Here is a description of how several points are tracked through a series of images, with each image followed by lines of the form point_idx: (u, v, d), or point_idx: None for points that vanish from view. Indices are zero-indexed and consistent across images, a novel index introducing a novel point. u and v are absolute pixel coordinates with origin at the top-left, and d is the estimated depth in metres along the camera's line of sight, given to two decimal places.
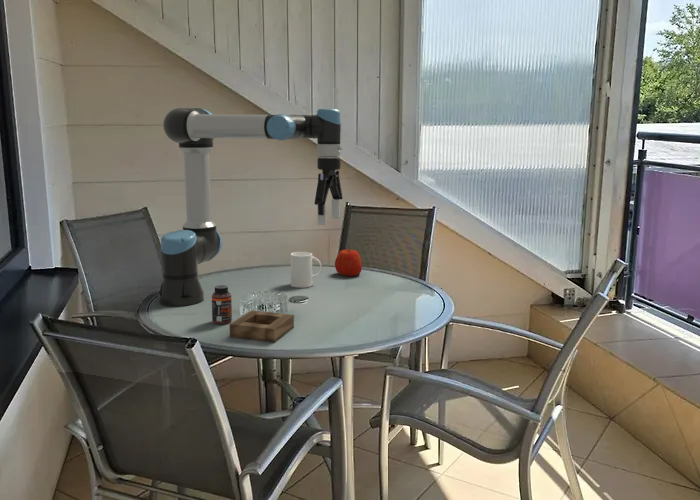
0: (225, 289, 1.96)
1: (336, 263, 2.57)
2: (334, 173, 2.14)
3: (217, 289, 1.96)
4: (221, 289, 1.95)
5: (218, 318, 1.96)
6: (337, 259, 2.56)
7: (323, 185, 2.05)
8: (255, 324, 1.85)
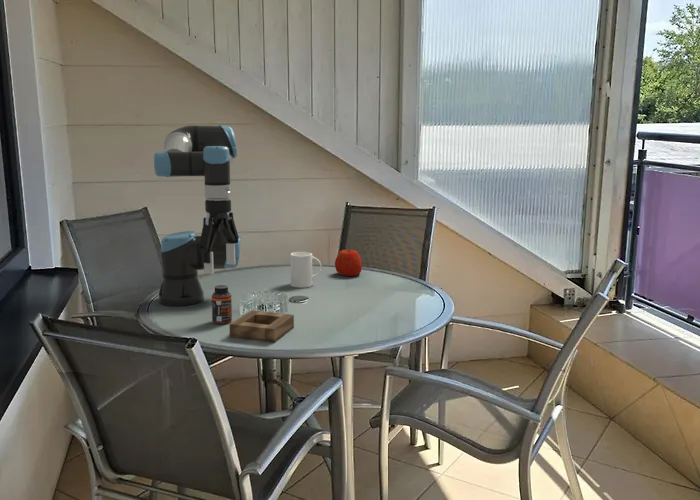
0: (225, 289, 1.96)
1: (336, 263, 2.57)
2: (225, 216, 1.95)
3: (217, 289, 1.96)
4: (221, 289, 1.95)
5: (218, 318, 1.96)
6: (337, 259, 2.56)
7: (208, 231, 1.86)
8: (255, 324, 1.85)
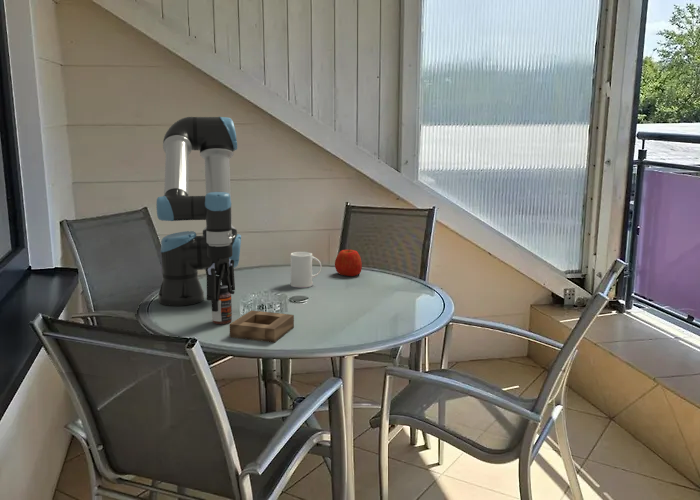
0: (225, 289, 1.96)
1: (336, 263, 2.57)
2: (227, 259, 1.98)
3: None
4: (221, 289, 1.95)
5: None
6: (337, 259, 2.56)
7: (212, 281, 1.90)
8: (255, 324, 1.85)
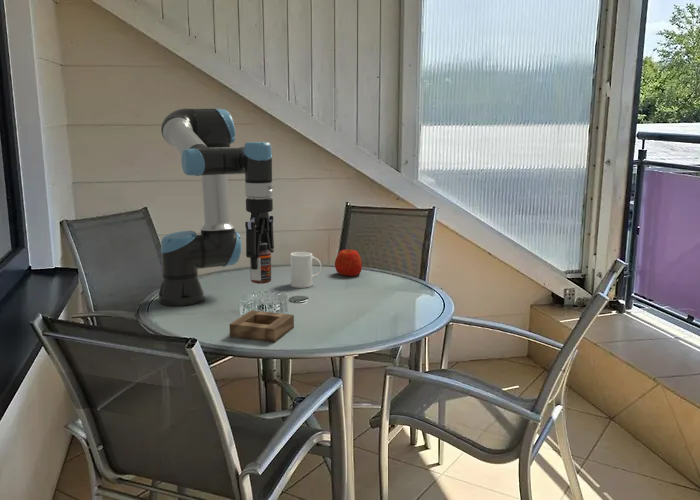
0: (265, 246, 1.84)
1: (336, 263, 2.57)
2: (266, 214, 1.85)
3: None
4: (261, 246, 1.83)
5: None
6: (337, 259, 2.56)
7: (252, 236, 1.78)
8: (255, 324, 1.85)
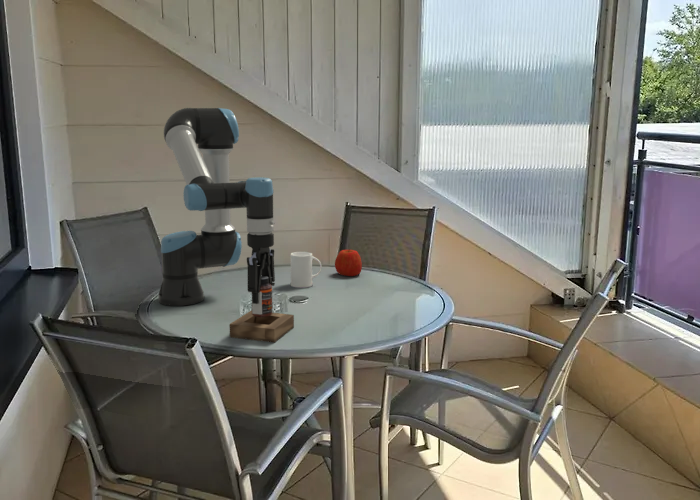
0: (266, 280, 1.86)
1: (336, 263, 2.57)
2: (268, 248, 1.87)
3: None
4: (262, 280, 1.85)
5: None
6: (337, 259, 2.56)
7: (254, 271, 1.80)
8: (255, 324, 1.85)
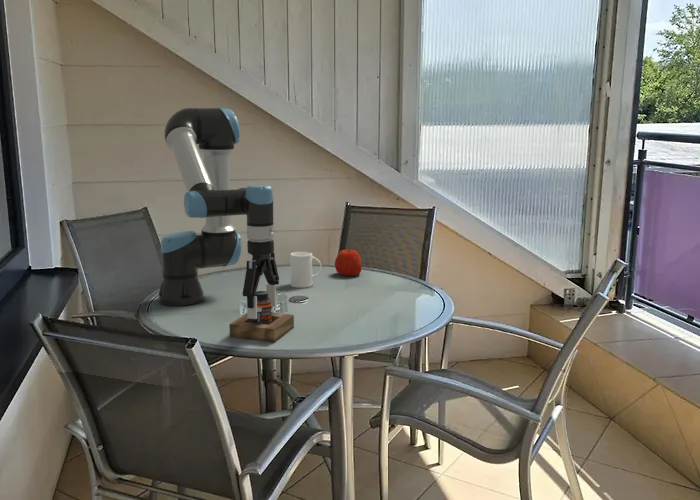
0: (265, 295, 1.87)
1: (336, 263, 2.57)
2: (268, 256, 1.87)
3: (257, 295, 1.86)
4: (261, 295, 1.86)
5: None
6: (337, 259, 2.56)
7: (252, 275, 1.79)
8: (255, 324, 1.85)
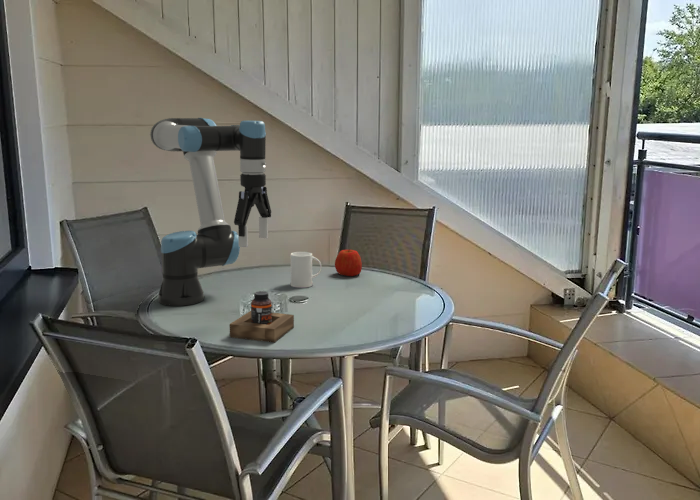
0: (266, 295, 1.86)
1: (336, 263, 2.57)
2: (260, 190, 1.97)
3: (257, 296, 1.86)
4: (262, 296, 1.86)
5: None
6: (337, 259, 2.56)
7: (243, 204, 1.89)
8: (255, 324, 1.85)
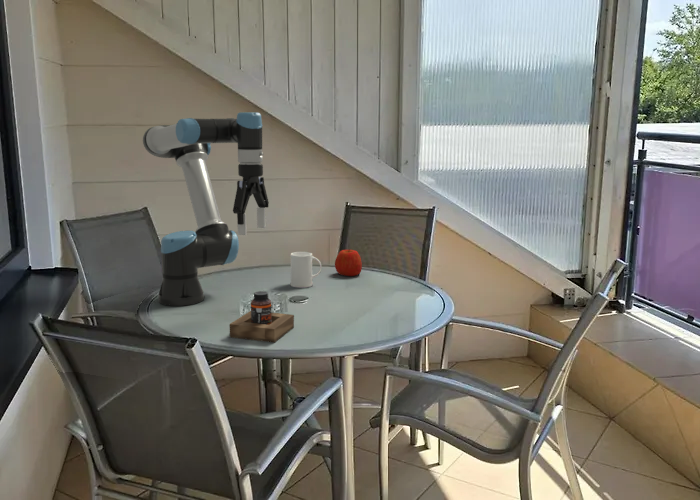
0: (265, 295, 1.86)
1: (336, 263, 2.57)
2: (257, 180, 2.02)
3: (257, 296, 1.86)
4: (261, 296, 1.86)
5: None
6: (337, 259, 2.56)
7: (242, 193, 1.94)
8: (255, 324, 1.85)
